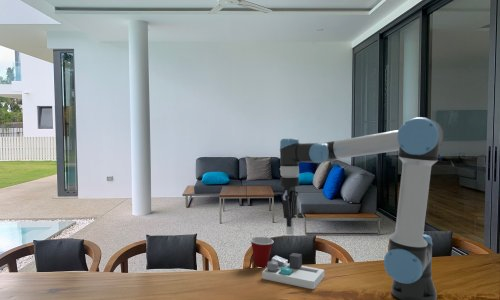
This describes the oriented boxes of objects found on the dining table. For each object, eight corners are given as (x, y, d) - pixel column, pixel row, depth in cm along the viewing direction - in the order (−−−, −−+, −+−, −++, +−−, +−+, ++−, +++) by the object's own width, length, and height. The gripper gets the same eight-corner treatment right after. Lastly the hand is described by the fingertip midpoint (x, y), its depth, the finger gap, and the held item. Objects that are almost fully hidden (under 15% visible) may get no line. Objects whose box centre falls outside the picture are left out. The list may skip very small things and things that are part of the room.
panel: (324, 276, 148) (324, 267, 148) (313, 289, 136) (313, 279, 136) (276, 267, 159) (276, 258, 159) (262, 278, 147) (262, 269, 146)
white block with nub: (287, 263, 155) (288, 260, 154) (283, 266, 151) (284, 263, 151) (275, 258, 157) (275, 255, 157) (271, 261, 154) (271, 258, 154)
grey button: (279, 269, 149) (279, 262, 149) (275, 272, 145) (275, 265, 145) (270, 267, 151) (270, 260, 151) (265, 270, 147) (265, 263, 147)
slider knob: (301, 265, 151) (301, 254, 151) (298, 268, 148) (298, 257, 148) (293, 264, 153) (293, 252, 153) (289, 267, 150) (289, 255, 150)
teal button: (292, 275, 146) (292, 268, 146) (288, 279, 142) (288, 271, 142) (283, 273, 148) (283, 266, 148) (278, 276, 144) (278, 269, 144)
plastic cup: (273, 270, 156) (273, 243, 155) (249, 269, 157) (249, 242, 156) (274, 261, 167) (274, 236, 166) (251, 260, 168) (251, 235, 167)
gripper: (287, 174, 152) (287, 229, 152) (274, 177, 140) (275, 236, 141) (303, 175, 148) (304, 231, 149) (292, 178, 137) (293, 239, 137)
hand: (290, 233), depth 145 cm, fingers closed
